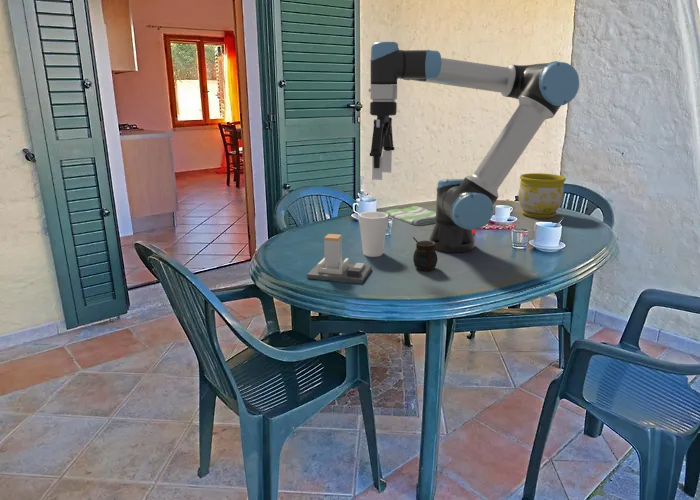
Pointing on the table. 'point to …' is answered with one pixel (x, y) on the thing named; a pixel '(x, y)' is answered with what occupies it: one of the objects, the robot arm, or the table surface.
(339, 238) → the plug
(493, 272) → the table surface
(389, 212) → the dish towel
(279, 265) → the table surface
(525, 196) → the flowerpot
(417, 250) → the mate gourd
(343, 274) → the board
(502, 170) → the robot arm
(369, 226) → the foam cup
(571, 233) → the table surface
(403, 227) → the table surface
